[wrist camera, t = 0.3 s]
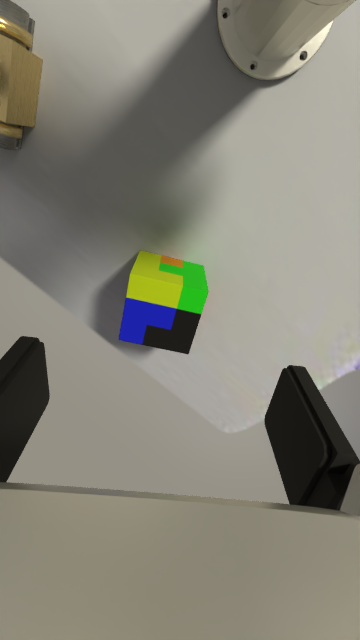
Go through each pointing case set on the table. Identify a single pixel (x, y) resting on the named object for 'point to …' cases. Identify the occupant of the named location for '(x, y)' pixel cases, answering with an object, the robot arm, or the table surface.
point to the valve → (17, 74)
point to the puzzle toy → (163, 302)
